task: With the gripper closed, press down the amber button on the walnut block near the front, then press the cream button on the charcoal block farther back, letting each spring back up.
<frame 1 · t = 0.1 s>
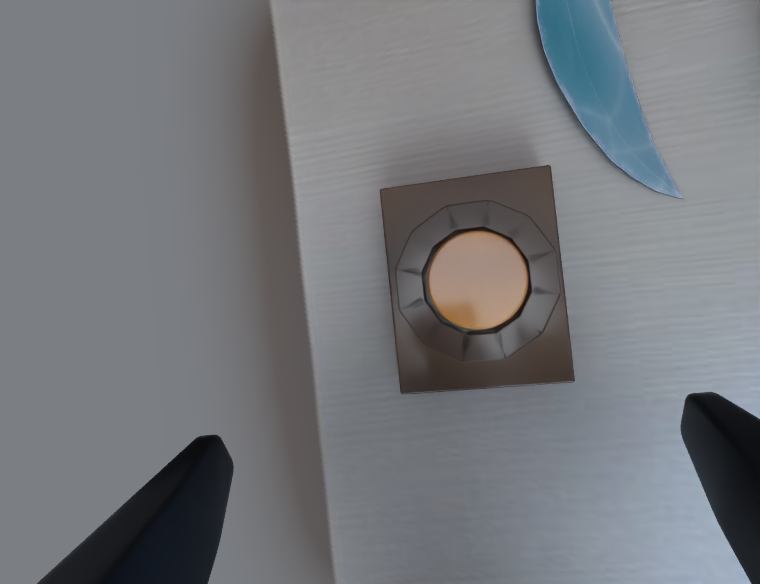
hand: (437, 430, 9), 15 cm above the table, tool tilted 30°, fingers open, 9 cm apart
knife: (578, 7, 24), on the table
walnut button block: (472, 283, 24), on the table
amber button: (476, 280, 20), point 4 cm above the table, slide at 0.1 cm
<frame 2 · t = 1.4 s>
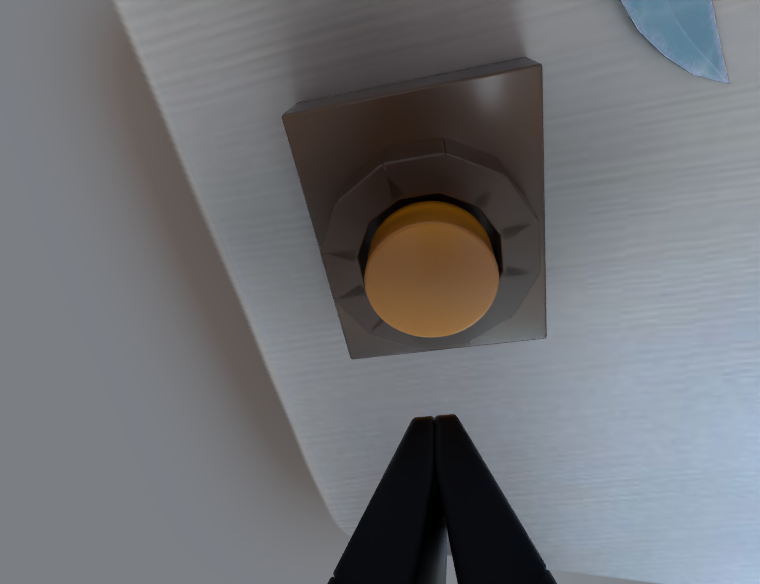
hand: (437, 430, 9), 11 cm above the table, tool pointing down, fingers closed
walnut button block: (427, 216, 19), on the table
amber button: (430, 270, 15), point 4 cm above the table, slide at 0.1 cm
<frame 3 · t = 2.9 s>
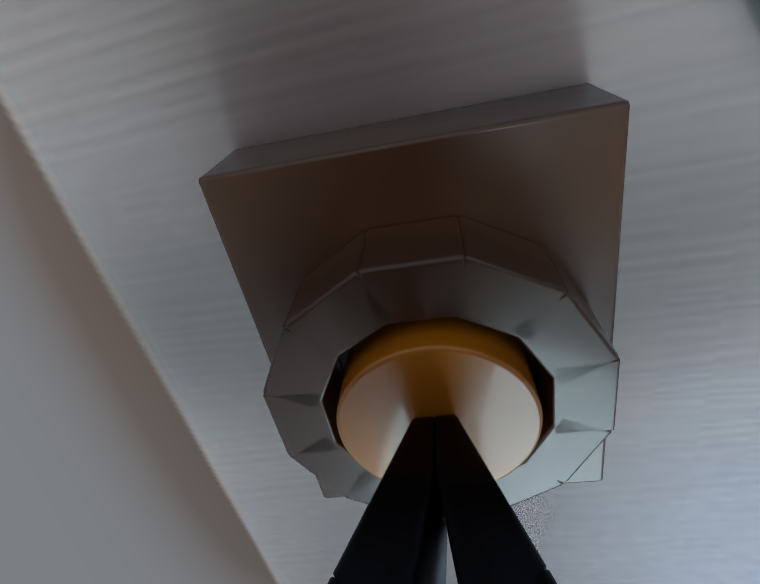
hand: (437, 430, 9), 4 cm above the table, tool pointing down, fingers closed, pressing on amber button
walnut button block: (431, 305, 13), on the table
amber button: (436, 397, 10), point 4 cm above the table, slide at -0.8 cm, touching gripper
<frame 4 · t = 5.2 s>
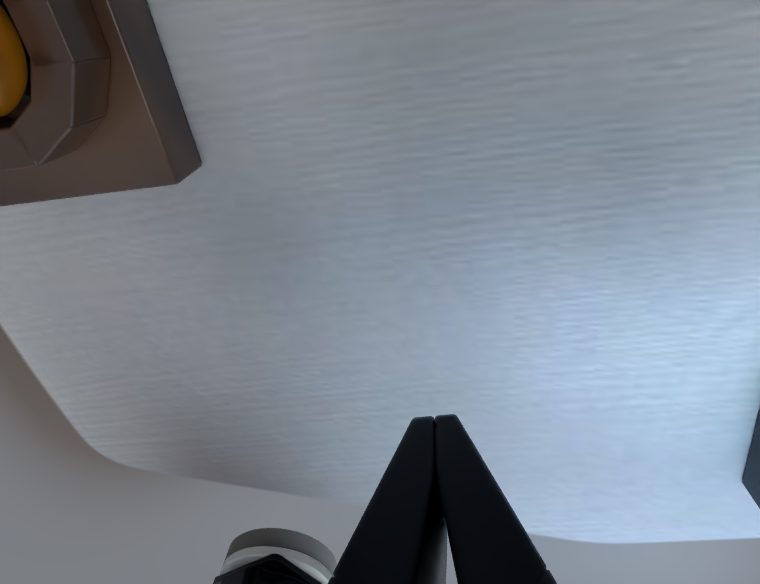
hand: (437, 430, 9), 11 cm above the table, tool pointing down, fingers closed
walnut button block: (43, 35, 16), on the table
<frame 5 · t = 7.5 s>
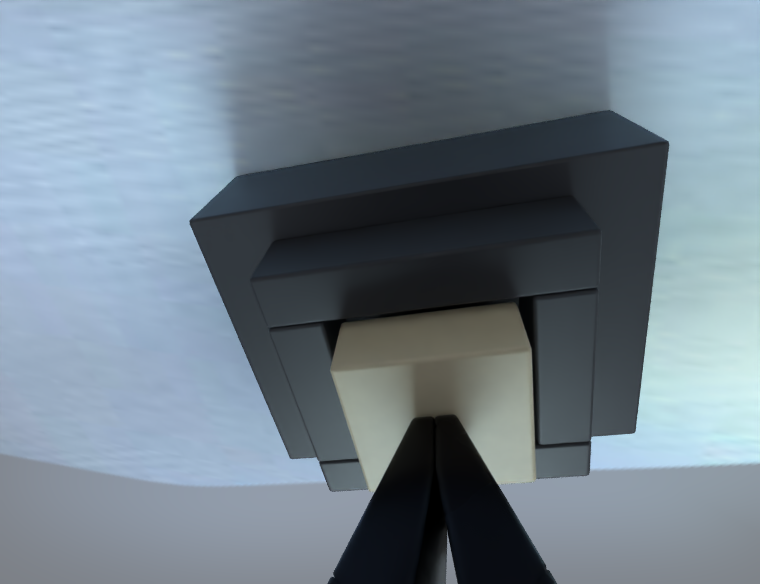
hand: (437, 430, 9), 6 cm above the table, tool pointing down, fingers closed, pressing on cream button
charcoal button block: (431, 275, 14), on the table
cream button: (438, 402, 10), point 5 cm above the table, slide at 0.1 cm, touching gripper
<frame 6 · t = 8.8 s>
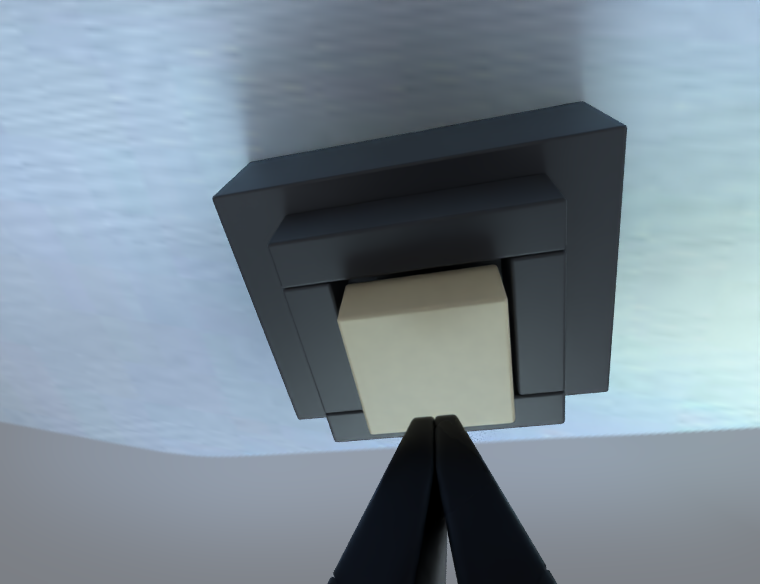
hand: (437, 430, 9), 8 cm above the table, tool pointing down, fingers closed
charcoal button block: (426, 252, 16), on the table
cream button: (430, 353, 11), point 5 cm above the table, slide at 0.1 cm
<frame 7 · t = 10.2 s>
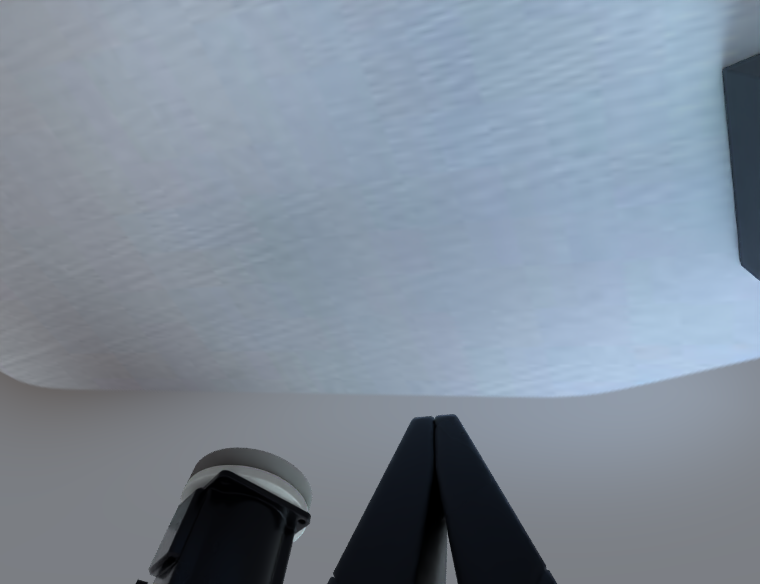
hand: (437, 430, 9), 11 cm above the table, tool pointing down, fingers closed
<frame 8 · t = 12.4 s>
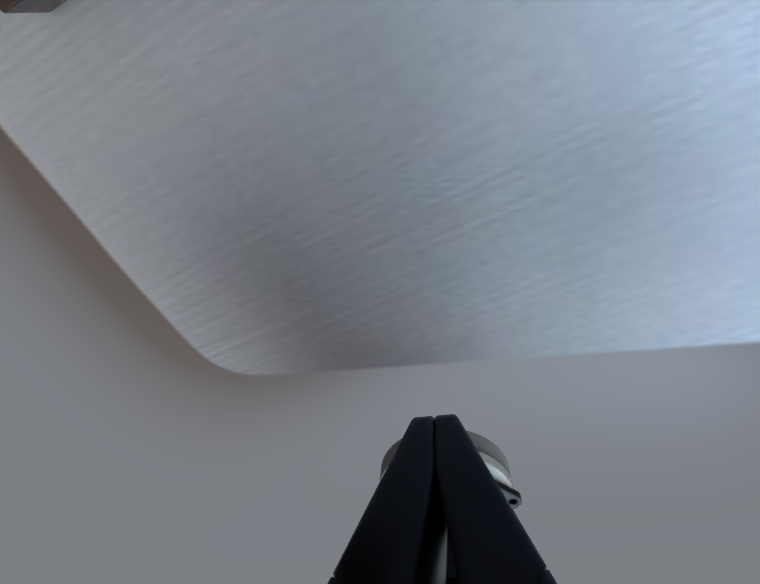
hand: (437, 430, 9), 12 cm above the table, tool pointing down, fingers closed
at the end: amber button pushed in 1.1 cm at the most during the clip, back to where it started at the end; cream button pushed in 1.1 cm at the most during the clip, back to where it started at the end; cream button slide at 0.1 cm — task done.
